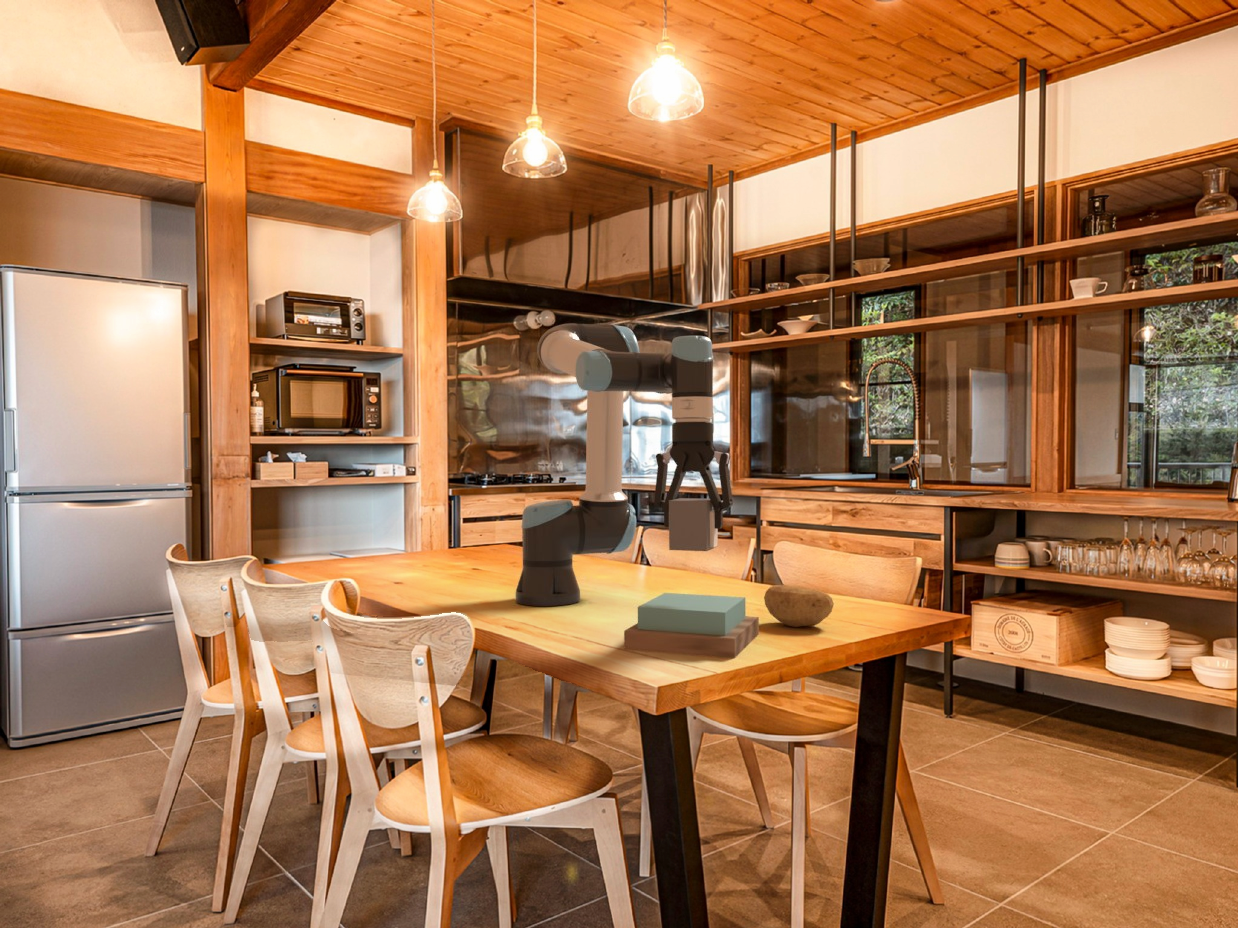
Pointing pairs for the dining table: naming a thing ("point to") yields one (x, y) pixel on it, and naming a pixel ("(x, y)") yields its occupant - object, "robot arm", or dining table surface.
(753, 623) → the block bottom
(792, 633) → the dining table surface
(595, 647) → the dining table surface
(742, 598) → the block top
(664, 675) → the dining table surface
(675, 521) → the block
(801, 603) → the potato
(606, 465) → the robot arm
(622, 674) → the dining table surface
